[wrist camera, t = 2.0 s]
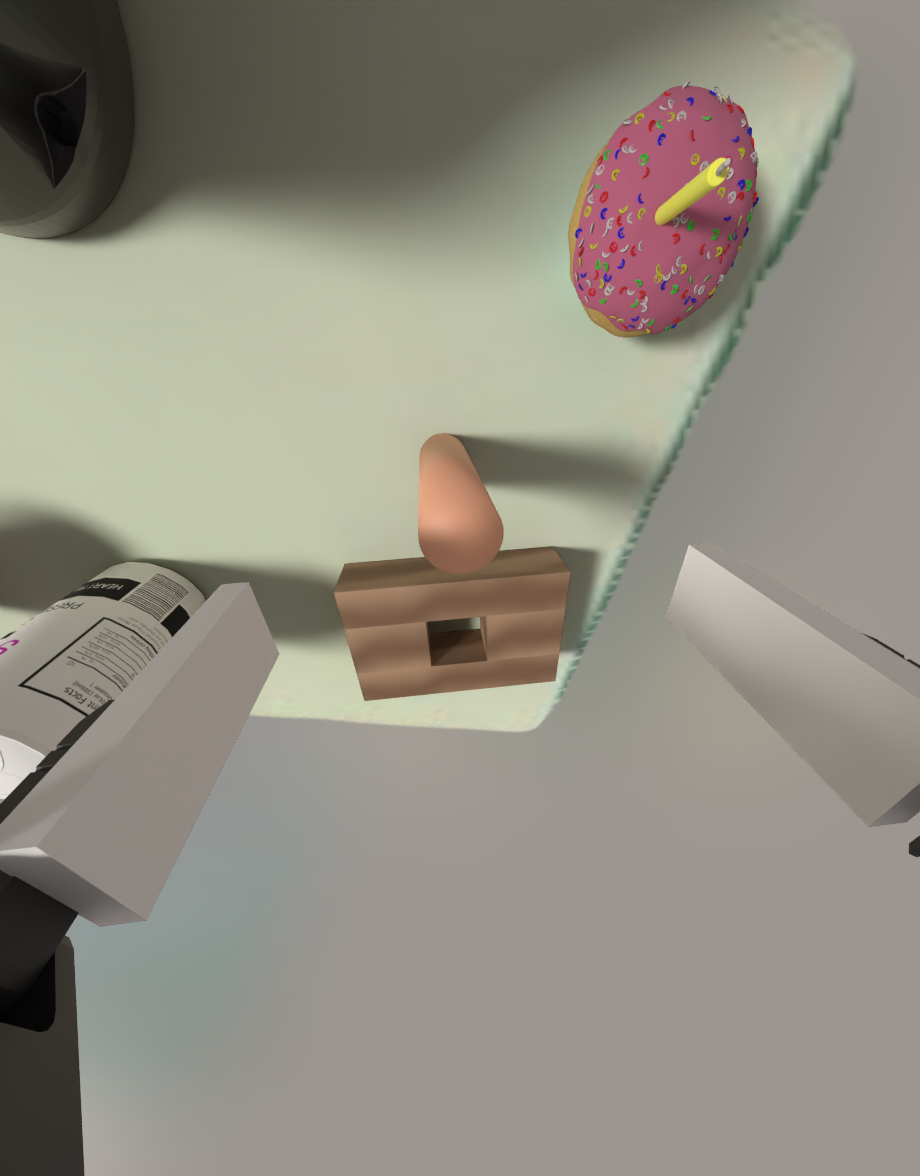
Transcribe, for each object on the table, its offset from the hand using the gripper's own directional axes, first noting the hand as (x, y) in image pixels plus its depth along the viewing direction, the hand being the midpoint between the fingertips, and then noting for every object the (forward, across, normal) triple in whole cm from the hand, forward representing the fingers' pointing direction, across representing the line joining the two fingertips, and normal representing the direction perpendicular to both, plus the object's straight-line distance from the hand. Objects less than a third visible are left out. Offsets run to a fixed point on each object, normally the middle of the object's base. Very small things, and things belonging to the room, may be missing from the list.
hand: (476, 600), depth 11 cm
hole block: (+18, 0, -14) cm, 23 cm away
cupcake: (+18, +11, +11) cm, 24 cm away
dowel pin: (+18, 0, 0) cm, 18 cm away
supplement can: (+18, -25, -10) cm, 33 cm away
